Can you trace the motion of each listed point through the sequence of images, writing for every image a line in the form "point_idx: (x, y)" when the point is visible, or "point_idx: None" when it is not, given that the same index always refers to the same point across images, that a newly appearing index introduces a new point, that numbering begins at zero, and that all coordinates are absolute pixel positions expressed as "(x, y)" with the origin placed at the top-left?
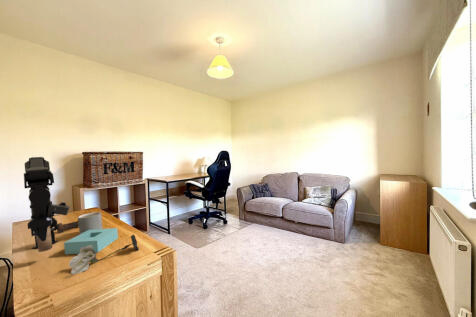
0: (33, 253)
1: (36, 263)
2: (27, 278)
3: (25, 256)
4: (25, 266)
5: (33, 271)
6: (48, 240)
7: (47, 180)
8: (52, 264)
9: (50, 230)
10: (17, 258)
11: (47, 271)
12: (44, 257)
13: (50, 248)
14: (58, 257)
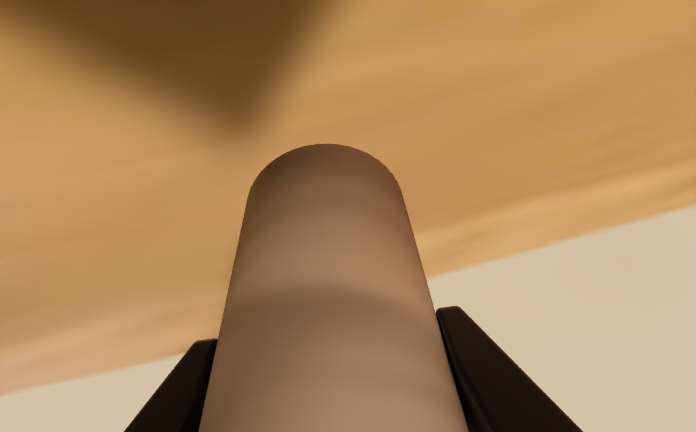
0: (6, 304)
1: None
2: (672, 185)
3: (62, 338)
4: None
5: (546, 181)
6: (403, 262)
7: None
8: (522, 46)
9: (327, 427)
10: (83, 373)
11: (691, 53)
12: (205, 181)
13: (369, 158)
14: (324, 23)
